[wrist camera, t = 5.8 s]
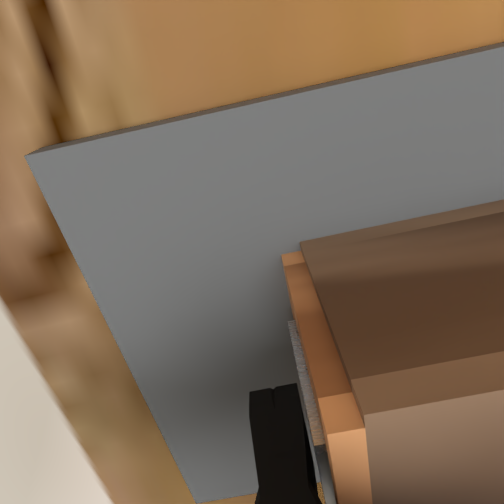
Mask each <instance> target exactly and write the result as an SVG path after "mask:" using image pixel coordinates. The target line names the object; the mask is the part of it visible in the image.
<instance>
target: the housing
mask: <svg viewBox="0 0 504 504" xmlns="http://www.w3.org/2000/svg"><path fill="white" fill-rule="evenodd" d="M299 243H300V249H301V251H297V252H292V253H287V254H282V255H281V257H282V262H283V267H284V272H285V278H286V283H287V288H288V293H289V298H290V303H291V308H292V314H293V319H294V320H295V321H296V326H297V330H298V334H299V338H300V342H301V346H302V350H303V354H304V358H305V362H306V366H307V370H308V374H309V379H310V383H311V387H312V391H313V395H314V399H315V403H316V407H317V411H318V415H319V419H320V423H321V427H322V432H323V436H324V440H325V444H326V448H327V453H328V459H329V464H330V470H331V476H332V481H333V487H334V493H335V498H336V504H504V199H503V200H498V201H493V202H489V203H484V204H479V205H474V206H469V207H465V208H460V209H455V210H450V211H445V212H440V213H436V214H431V215H426V216H421V217H416V218H412V219H407V220H402V221H397V222H392V223H388V224H383V225H378V226H373V227H368V228H363V229H359V230H354V231H349V232H344V233H339V234H335V235H330V236H325V237H320V238H315V239H310V240H306V241H301V242H299Z"/></svg>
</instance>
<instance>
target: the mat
mask: <svg viewBox="0 0 504 504" xmlns="http://www.w3.org/2000/svg"><path fill="white" fill-rule="evenodd" d="M24 157H25V159H26V161H27V163H28V165H29V167H30V169H31V171H32V173H33V175H34V177H35V179H36V181H37V183H38V185H39V187H40V189H41V191H42V193H43V195H44V197H45V199H46V201H47V203H48V205H49V207H50V209H51V211H52V213H53V215H54V217H55V219H56V221H57V223H58V225H59V227H60V229H61V231H62V233H63V235H64V238H65V240H66V242H67V244H68V246H69V248H70V250H71V252H72V254H73V256H74V258H75V260H76V262H77V264H78V266H79V268H80V270H81V272H82V274H83V276H84V278H85V280H86V282H87V284H88V286H89V288H90V290H91V292H92V294H93V296H94V298H95V300H96V302H97V304H98V306H99V308H100V310H101V312H102V314H103V316H104V318H105V320H106V322H107V324H108V326H109V328H110V330H111V333H112V335H113V337H114V339H115V341H116V343H117V345H118V347H119V349H120V351H121V353H122V355H123V357H124V359H125V361H126V363H127V365H128V367H129V369H130V371H131V373H132V375H133V377H134V379H135V381H136V383H137V385H138V387H139V389H140V391H141V393H142V395H143V397H144V399H145V401H146V403H147V405H148V407H149V409H150V411H151V413H152V415H153V417H154V419H155V421H156V423H157V425H158V428H159V430H160V432H161V434H162V436H163V438H164V440H165V442H166V444H167V446H168V448H169V450H170V452H171V454H172V456H173V458H174V460H175V462H176V464H177V466H178V468H179V470H180V472H181V474H182V476H183V478H184V480H185V482H186V484H187V486H188V488H189V490H190V492H191V494H192V496H193V498H194V500H195V502H196V504H197V503H202V502H208V501H214V500H220V499H225V498H231V497H237V496H243V495H248V494H254V493H257V492H258V488H259V485H258V478H257V471H256V464H255V456H254V449H253V442H252V435H251V427H250V420H249V392H251V391H256V390H261V389H266V388H272V389H274V388H275V387H277V386H282V385H287V384H293V383H297V386H298V391H299V396H300V400H301V405H302V410H303V414H304V419H305V424H306V429H307V433H308V438H309V443H310V448H311V453H312V457H313V462H314V467H315V475H316V483H317V482H321V480H320V475H319V471H318V466H317V461H316V457H315V452H314V447H313V442H312V438H311V433H310V428H309V424H308V419H307V414H306V409H305V405H304V400H303V395H302V390H301V385H300V380H299V375H298V370H297V365H296V361H295V356H294V351H293V346H292V341H291V336H290V331H289V326H288V321H291V320H294V319H293V314H292V308H291V303H290V298H289V293H288V288H287V283H286V278H285V272H284V267H283V262H282V257H281V255H282V254H287V253H292V252H297V251H301V249H300V243H299V242H301V241H306V240H310V239H315V238H320V237H325V236H330V235H335V234H339V233H344V232H349V231H354V230H359V229H363V228H368V227H373V226H378V225H383V224H388V223H392V222H397V221H402V220H407V219H412V218H416V217H421V216H426V215H431V214H436V213H440V212H445V211H450V210H455V209H460V208H465V207H469V206H474V205H479V204H484V203H489V202H493V201H498V200H503V199H504V42H501V43H497V44H493V45H488V46H484V47H479V48H475V49H471V50H466V51H462V52H458V53H453V54H449V55H444V56H440V57H436V58H431V59H427V60H423V61H418V62H414V63H410V64H405V65H401V66H396V67H392V68H388V69H383V70H379V71H375V72H370V73H366V74H361V75H357V76H353V77H348V78H344V79H340V80H335V81H331V82H326V83H322V84H318V85H313V86H309V87H305V88H300V89H296V90H291V91H287V92H283V93H278V94H274V95H270V96H265V97H261V98H256V99H252V100H248V101H243V102H239V103H235V104H230V105H226V106H222V107H217V108H213V109H208V110H204V111H200V112H195V113H191V114H187V115H182V116H178V117H173V118H169V119H165V120H160V121H156V122H152V123H147V124H143V125H138V126H134V127H130V128H125V129H121V130H117V131H112V132H108V133H103V134H99V135H95V136H90V137H86V138H82V139H77V140H73V141H68V142H64V143H60V144H55V145H51V146H47V147H42V148H40V149H38V150H36V151H34V152H32V153H29V154H27V155H25V156H24Z"/></svg>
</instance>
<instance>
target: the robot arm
mask: <svg viewBox="0 0 504 504" xmlns="http://www.w3.org/2000/svg"><path fill="white" fill-rule="evenodd" d="M249 420H250V427H251V435H252V442H253V449H254V456H255V464H256V471H257V478H258V485H259V488H258V492H257V497H256V501H255V504H322V503H321V501H320V499H319V497H318V491H317V483H316V475H315V467H314V462H313V457H312V453H311V448H310V443H309V438H308V433H307V429H306V424H305V419H304V414H303V410H302V405H301V400H300V396H299V391H298V386H297V383H293V384H287V385H282V386H277V387H275V388H274V389H272V388H266V389H261V390H256V391H251V392H249Z"/></svg>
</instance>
